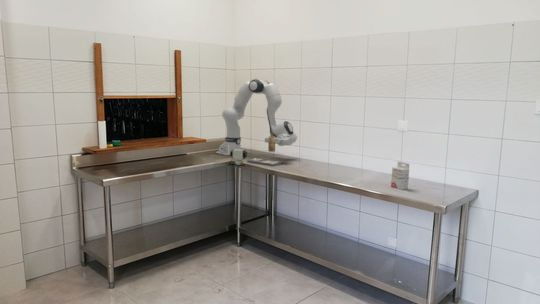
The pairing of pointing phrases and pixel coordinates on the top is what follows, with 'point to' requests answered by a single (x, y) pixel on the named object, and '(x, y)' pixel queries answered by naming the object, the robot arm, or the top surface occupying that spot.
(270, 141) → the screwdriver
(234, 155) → the pneumatic valve
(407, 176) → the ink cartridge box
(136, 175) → the top surface
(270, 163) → the switch board
